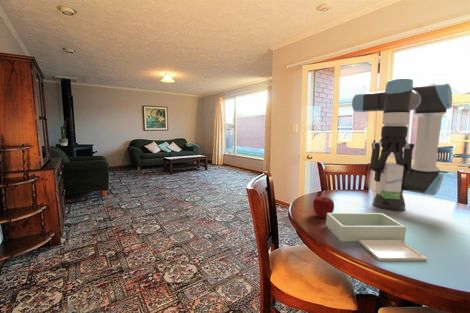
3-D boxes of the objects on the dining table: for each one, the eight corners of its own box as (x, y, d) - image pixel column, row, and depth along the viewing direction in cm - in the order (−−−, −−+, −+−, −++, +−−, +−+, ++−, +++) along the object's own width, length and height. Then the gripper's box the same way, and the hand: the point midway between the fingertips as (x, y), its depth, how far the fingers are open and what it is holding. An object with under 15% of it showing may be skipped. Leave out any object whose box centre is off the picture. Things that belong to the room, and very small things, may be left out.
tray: (399, 242, 88) (400, 239, 88) (426, 261, 76) (426, 257, 76) (359, 242, 88) (359, 239, 87) (379, 261, 76) (379, 257, 76)
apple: (314, 211, 119) (315, 193, 117) (334, 215, 114) (335, 196, 113) (310, 218, 111) (311, 198, 109) (331, 222, 106) (333, 201, 104)
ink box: (375, 192, 87) (377, 161, 85) (390, 192, 86) (392, 161, 84) (384, 198, 79) (387, 164, 77) (401, 199, 77) (404, 165, 76)
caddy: (380, 225, 103) (382, 213, 102) (404, 241, 89) (406, 226, 88) (326, 225, 102) (326, 212, 102) (341, 241, 88) (342, 226, 88)
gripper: (413, 126, 83) (406, 188, 86) (361, 125, 83) (356, 187, 86) (431, 126, 75) (422, 194, 78) (374, 125, 75) (367, 193, 78)
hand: (387, 190), depth 82 cm, fingers closed on ink box, 6 cm apart
